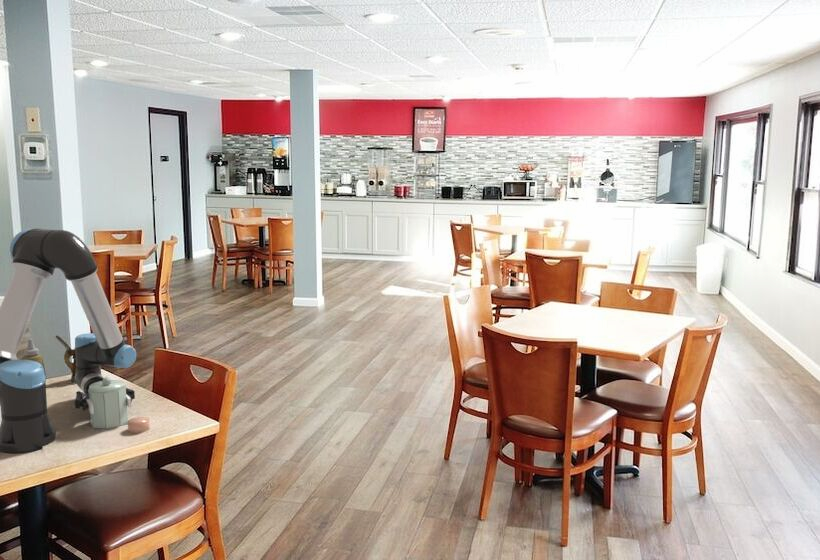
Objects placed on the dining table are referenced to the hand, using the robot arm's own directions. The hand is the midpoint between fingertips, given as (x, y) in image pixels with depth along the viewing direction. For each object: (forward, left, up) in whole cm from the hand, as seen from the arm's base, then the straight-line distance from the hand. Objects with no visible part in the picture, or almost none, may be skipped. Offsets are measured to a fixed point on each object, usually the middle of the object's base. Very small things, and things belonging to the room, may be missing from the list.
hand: (111, 406), depth 220 cm
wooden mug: (+1, +59, -7) cm, 60 cm away
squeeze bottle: (-14, +56, -7) cm, 58 cm away
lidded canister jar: (0, +4, -6) cm, 8 cm away
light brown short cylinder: (+6, -7, -7) cm, 11 cm away
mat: (0, +4, -7) cm, 8 cm away
